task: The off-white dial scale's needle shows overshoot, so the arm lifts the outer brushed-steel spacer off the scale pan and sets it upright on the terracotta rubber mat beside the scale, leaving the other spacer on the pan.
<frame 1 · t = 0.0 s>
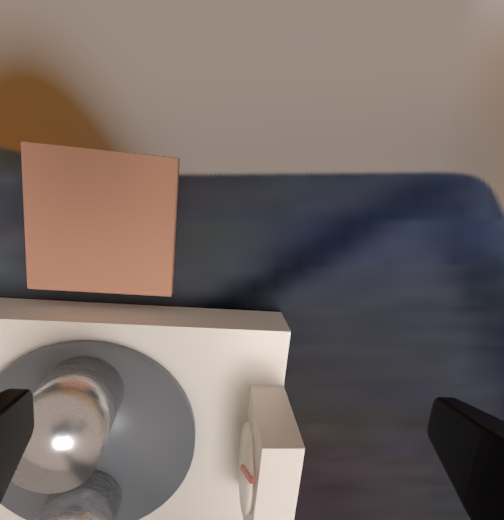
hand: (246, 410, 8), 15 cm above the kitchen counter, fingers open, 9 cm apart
dial scale: (105, 403, 24), on the kitchen counter
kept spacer: (86, 497, 21), point 4 cm above the kitchen counter, touching dial scale
rubber mat: (106, 222, 21), on the kitchen counter
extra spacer: (85, 389, 19), point 4 cm above the kitchen counter, touching dial scale
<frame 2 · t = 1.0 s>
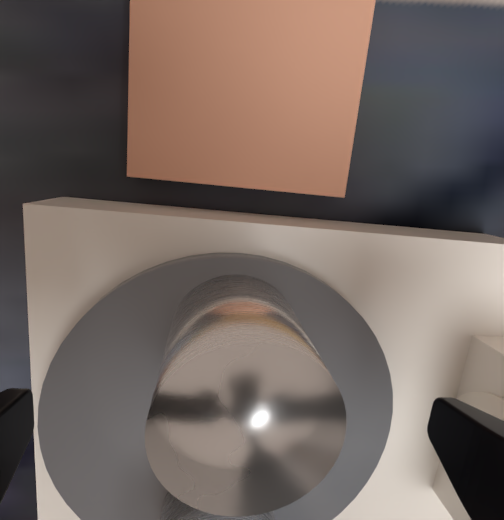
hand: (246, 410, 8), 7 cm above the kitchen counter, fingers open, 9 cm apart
dial scale: (221, 369, 16), on the kitchen counter
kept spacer: (217, 511, 13), point 4 cm above the kitchen counter, touching dial scale
rubber mat: (247, 75, 13), on the kitchen counter
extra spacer: (234, 334, 11), point 4 cm above the kitchen counter, touching dial scale
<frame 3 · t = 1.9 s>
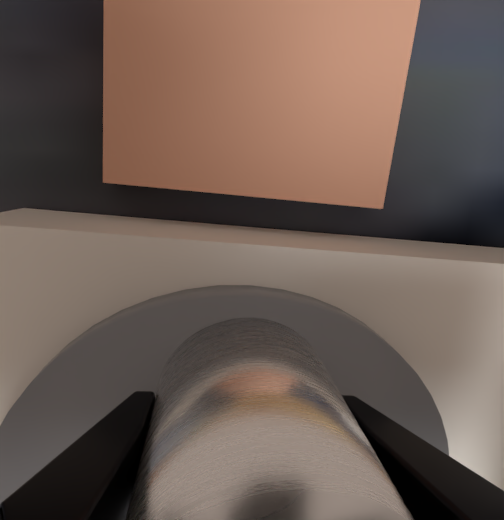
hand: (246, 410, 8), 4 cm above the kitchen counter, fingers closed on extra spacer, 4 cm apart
dial scale: (225, 418, 13), on the kitchen counter
rubber mat: (260, 52, 10), on the kitchen counter
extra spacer: (244, 396, 8), point 4 cm above the kitchen counter, touching dial scale, gripper
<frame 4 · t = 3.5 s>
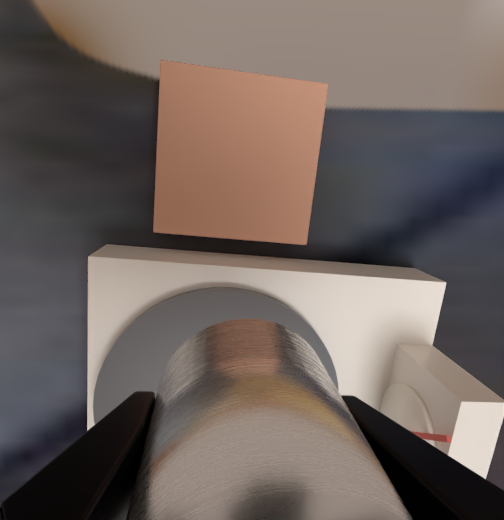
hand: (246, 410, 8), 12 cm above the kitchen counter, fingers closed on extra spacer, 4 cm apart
dial scale: (218, 368, 21), on the kitchen counter
rubber mat: (237, 160, 19), on the kitchen counter
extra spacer: (243, 397, 8), point 12 cm above the kitchen counter, touching gripper
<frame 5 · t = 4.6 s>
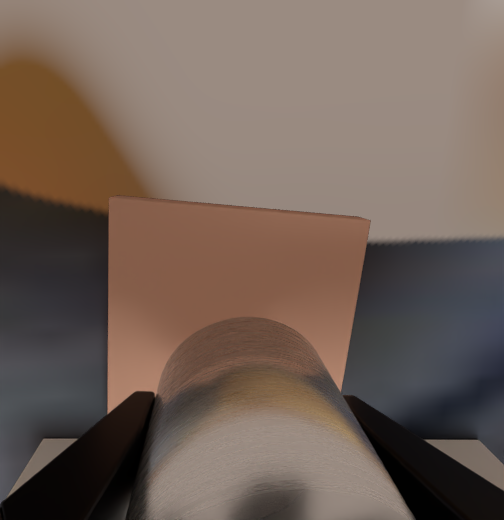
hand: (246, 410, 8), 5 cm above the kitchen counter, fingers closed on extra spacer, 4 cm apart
rubber mat: (232, 319, 13), on the kitchen counter
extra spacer: (244, 395, 8), point 4 cm above the kitchen counter, touching gripper
when the fingers open (2 cm above the kitchen counter, at t = 5.4 s): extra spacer stays where it is, resting on rubber mat.
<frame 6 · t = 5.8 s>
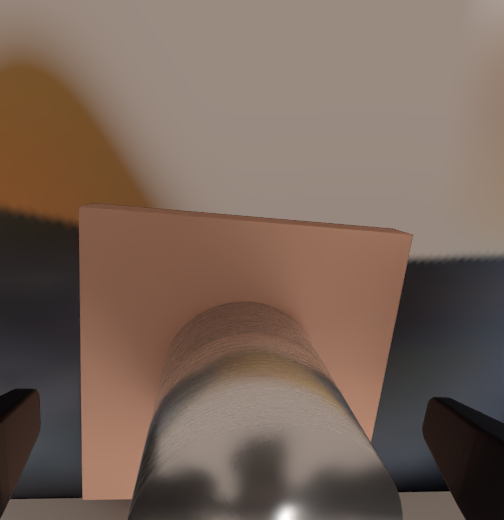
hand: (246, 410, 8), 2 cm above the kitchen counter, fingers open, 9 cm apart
rubber mat: (238, 354, 10), on the kitchen counter
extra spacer: (241, 373, 9), point 1 cm above the kitchen counter, touching rubber mat
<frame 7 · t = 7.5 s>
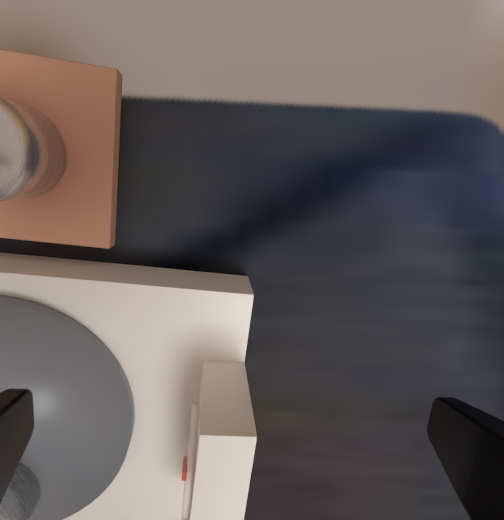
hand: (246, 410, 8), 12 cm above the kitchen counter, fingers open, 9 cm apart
dial scale: (33, 378, 20), on the kitchen counter
rubber mat: (30, 152, 17), on the kitchen counter
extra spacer: (19, 151, 16), point 1 cm above the kitchen counter, touching rubber mat
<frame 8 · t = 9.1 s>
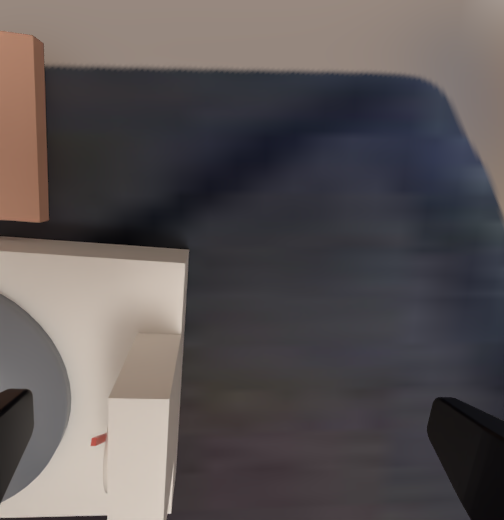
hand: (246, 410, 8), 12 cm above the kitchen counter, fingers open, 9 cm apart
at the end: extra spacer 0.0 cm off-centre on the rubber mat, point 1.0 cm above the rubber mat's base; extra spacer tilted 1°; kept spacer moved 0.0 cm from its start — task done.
